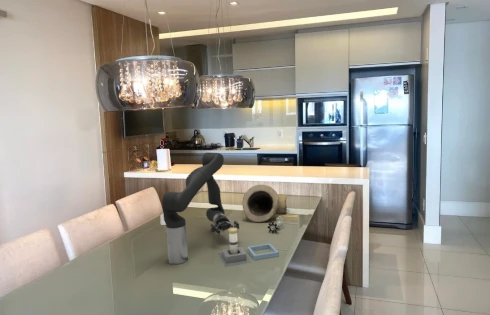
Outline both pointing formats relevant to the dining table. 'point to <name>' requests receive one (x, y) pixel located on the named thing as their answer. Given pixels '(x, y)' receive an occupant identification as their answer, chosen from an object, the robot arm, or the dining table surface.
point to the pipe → (263, 203)
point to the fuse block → (234, 257)
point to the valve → (276, 225)
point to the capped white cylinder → (233, 240)
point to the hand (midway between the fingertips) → (227, 231)
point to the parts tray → (264, 255)
